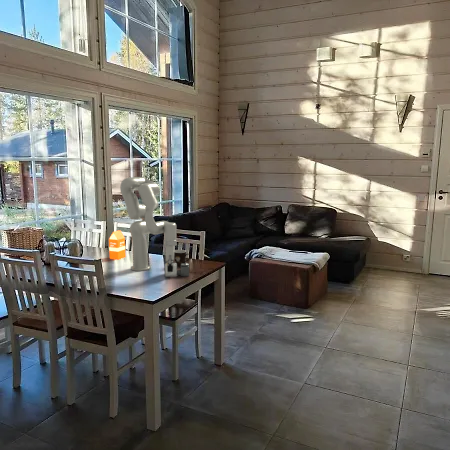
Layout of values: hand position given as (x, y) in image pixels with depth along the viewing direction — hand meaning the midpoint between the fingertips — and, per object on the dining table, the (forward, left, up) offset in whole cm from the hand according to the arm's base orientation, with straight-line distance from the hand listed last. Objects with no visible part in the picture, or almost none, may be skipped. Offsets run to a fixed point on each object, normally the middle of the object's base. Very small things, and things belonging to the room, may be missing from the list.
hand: (170, 269), depth 254 cm
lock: (0, 0, -4) cm, 4 cm away
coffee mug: (-21, +6, -4) cm, 22 cm away
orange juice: (-48, -41, -4) cm, 63 cm away
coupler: (0, +5, -4) cm, 6 cm away
